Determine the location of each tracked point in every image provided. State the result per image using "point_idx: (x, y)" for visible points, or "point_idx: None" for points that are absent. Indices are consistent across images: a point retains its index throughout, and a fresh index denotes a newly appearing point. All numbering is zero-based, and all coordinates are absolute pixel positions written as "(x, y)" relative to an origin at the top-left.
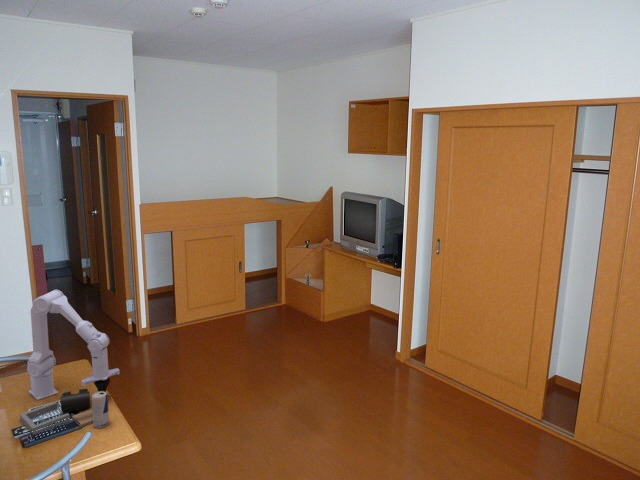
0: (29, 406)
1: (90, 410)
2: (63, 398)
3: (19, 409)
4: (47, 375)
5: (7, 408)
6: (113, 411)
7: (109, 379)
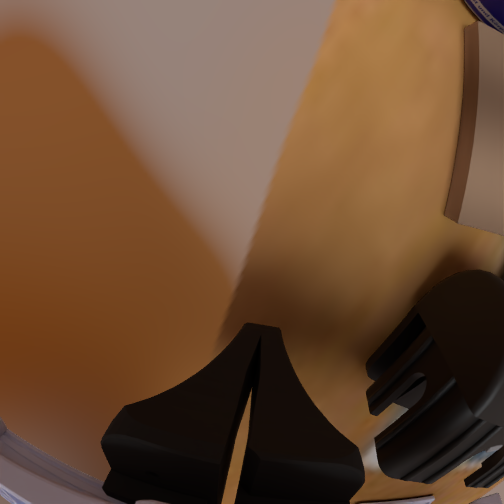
0: None
1: (494, 205)
2: None
3: None
4: None
5: (495, 485)
6: (341, 35)
7: (111, 445)
